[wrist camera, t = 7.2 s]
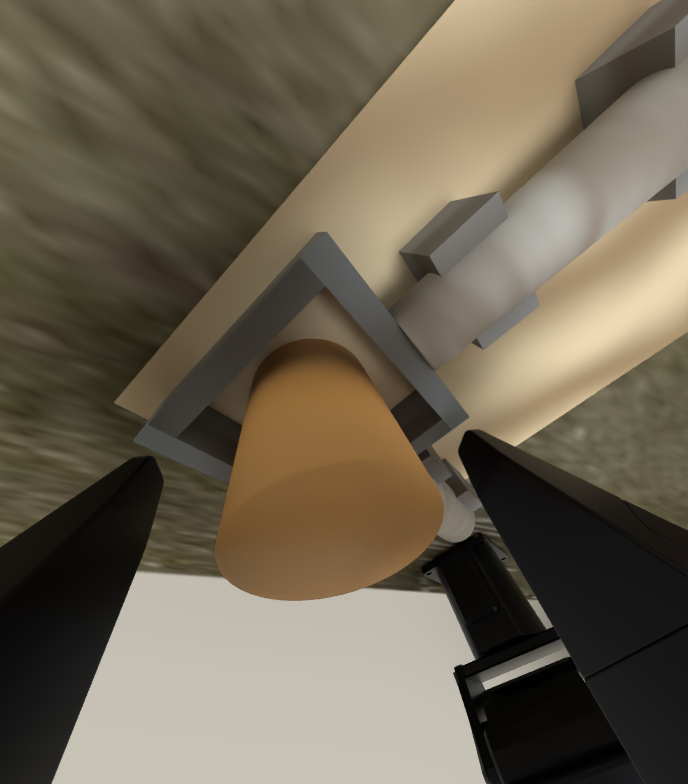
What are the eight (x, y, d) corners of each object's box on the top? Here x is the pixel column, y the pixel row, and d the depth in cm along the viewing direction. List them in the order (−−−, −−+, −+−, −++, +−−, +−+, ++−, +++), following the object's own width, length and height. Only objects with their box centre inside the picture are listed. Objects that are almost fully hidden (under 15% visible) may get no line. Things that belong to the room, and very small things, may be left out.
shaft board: (665, 319, 13) (795, 348, 10) (374, 519, 18) (395, 587, 14) (645, -218, 5) (1255, -990, 2) (131, 385, 10) (49, 464, 7)
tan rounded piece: (388, 392, 11) (477, 522, 6) (310, 454, 12) (328, 613, 7) (314, 310, 9) (356, 411, 4) (224, 396, 10) (157, 571, 5)
